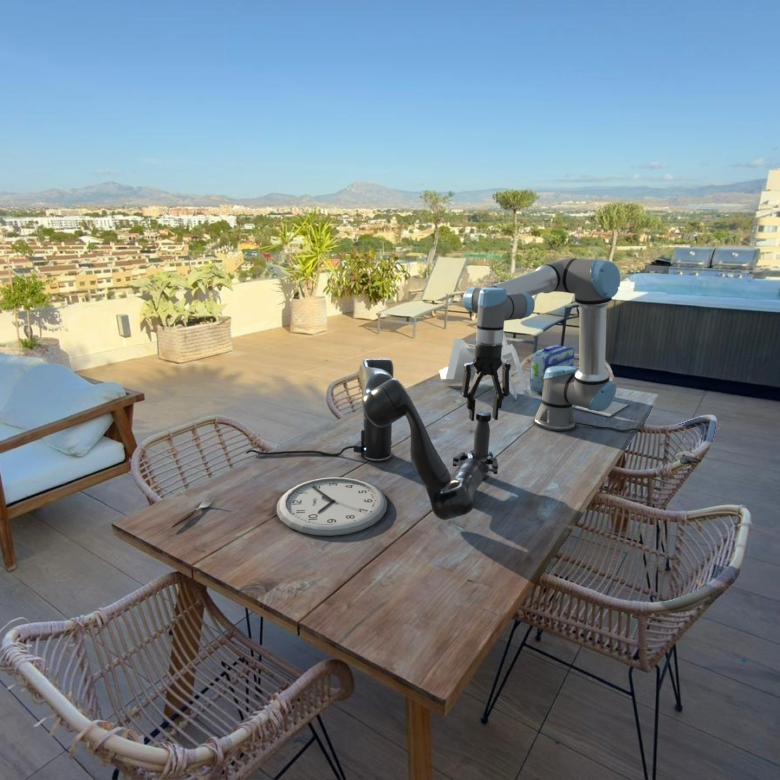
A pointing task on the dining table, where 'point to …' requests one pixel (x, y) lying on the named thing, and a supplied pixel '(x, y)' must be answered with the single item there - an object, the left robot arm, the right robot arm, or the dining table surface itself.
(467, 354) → the white plastic object
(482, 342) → the right robot arm
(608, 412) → the invitation card
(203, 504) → the fork
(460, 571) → the dining table surface
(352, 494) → the wall clock
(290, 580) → the dining table surface
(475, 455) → the bottle
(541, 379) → the lunch box
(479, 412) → the cap
